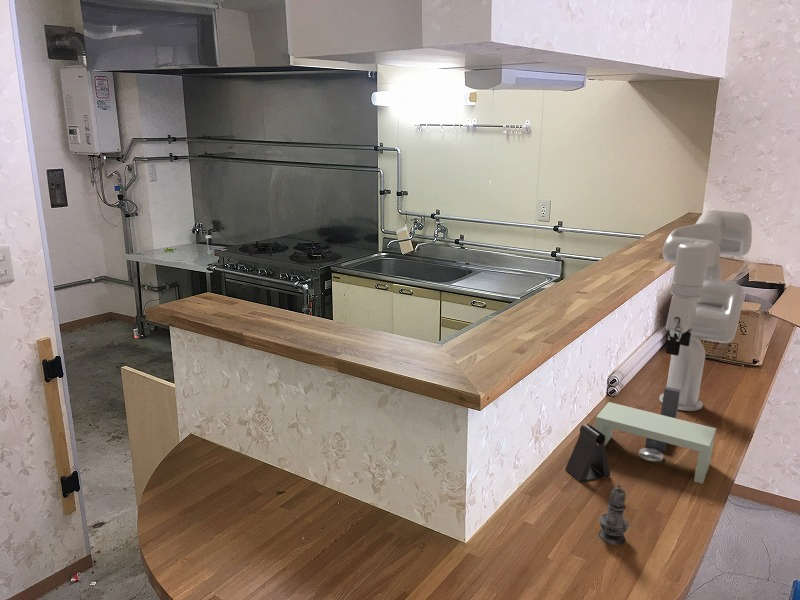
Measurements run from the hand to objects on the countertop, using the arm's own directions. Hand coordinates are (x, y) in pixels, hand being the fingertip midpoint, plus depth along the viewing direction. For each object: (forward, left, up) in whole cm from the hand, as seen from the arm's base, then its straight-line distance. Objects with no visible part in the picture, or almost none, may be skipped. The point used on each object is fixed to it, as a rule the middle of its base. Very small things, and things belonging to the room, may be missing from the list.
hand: (677, 349), depth 177 cm
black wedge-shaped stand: (+37, -11, -25) cm, 46 cm away
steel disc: (+18, 0, -25) cm, 31 cm away
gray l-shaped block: (+5, 0, -25) cm, 25 cm away
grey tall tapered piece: (+60, +1, -25) cm, 65 cm away
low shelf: (+19, 0, -25) cm, 31 cm away
